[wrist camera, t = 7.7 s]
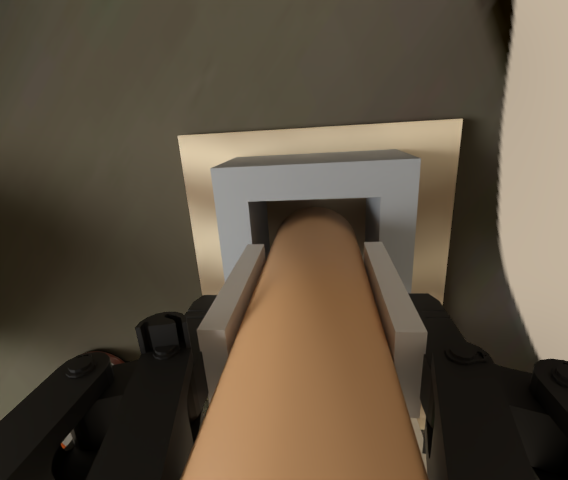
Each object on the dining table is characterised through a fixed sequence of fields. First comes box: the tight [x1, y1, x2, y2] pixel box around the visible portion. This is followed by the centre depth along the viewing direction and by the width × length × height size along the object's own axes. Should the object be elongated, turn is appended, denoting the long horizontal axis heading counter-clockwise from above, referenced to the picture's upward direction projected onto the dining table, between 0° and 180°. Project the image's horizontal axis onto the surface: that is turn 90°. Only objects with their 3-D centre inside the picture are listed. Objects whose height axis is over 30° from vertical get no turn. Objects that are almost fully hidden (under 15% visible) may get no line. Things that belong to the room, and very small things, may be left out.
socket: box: [210, 149, 421, 293], centre depth 19 cm, size 9×9×5 cm
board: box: [178, 119, 463, 430], centre depth 23 cm, size 22×16×1 cm
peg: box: [180, 207, 429, 480], centre depth 11 cm, size 4×4×16 cm
